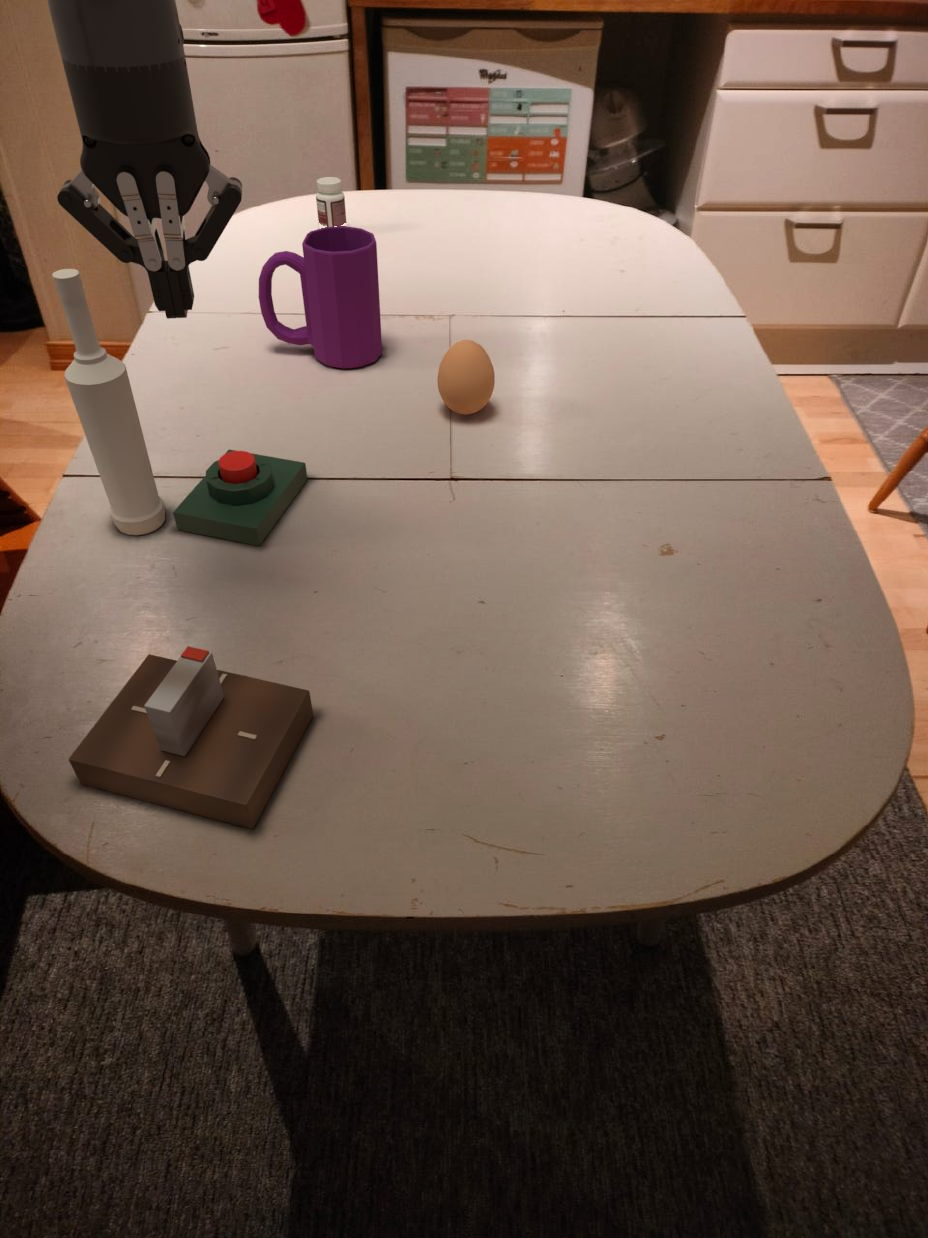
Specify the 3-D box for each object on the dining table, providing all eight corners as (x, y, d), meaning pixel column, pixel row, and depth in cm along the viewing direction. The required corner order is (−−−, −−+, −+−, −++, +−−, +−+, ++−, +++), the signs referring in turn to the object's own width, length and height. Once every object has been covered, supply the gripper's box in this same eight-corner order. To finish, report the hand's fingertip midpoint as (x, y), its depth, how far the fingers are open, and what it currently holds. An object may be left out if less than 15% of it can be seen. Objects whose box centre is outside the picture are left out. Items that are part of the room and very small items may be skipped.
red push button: (247, 487, 84) (244, 472, 83) (214, 481, 85) (211, 466, 84) (263, 468, 87) (260, 453, 86) (231, 462, 87) (228, 447, 86)
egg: (494, 426, 100) (497, 355, 94) (437, 425, 100) (437, 354, 94) (492, 397, 105) (495, 328, 99) (437, 397, 105) (437, 328, 99)
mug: (378, 372, 110) (371, 254, 99) (259, 367, 110) (240, 249, 100) (386, 340, 116) (380, 226, 106) (274, 335, 117) (258, 221, 106)
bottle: (109, 513, 87) (27, 267, 69) (161, 500, 88) (93, 257, 71) (119, 542, 83) (36, 290, 66) (172, 528, 85) (104, 279, 68)
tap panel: (80, 784, 63) (67, 758, 61) (157, 678, 70) (148, 652, 68) (253, 829, 60) (246, 804, 58) (313, 715, 68) (309, 688, 66)
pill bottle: (348, 228, 147) (344, 175, 141) (346, 238, 144) (342, 184, 138) (320, 227, 147) (316, 175, 141) (317, 237, 144) (312, 184, 138)
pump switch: (259, 546, 83) (253, 513, 81) (177, 530, 85) (168, 497, 82) (307, 479, 92) (303, 447, 89) (232, 466, 93) (225, 434, 91)
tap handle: (185, 757, 61) (168, 710, 57) (160, 750, 61) (142, 703, 58) (224, 696, 65) (211, 649, 61) (201, 691, 65) (187, 643, 62)
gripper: (-2, 60, 50) (80, 339, 62) (227, 60, 52) (264, 331, 64) (24, 36, 55) (95, 297, 67) (231, 37, 57) (265, 291, 69)
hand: (178, 313), depth 66 cm, fingers closed
